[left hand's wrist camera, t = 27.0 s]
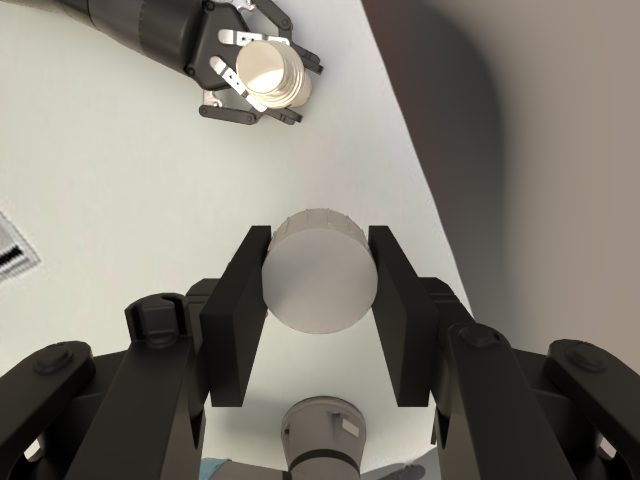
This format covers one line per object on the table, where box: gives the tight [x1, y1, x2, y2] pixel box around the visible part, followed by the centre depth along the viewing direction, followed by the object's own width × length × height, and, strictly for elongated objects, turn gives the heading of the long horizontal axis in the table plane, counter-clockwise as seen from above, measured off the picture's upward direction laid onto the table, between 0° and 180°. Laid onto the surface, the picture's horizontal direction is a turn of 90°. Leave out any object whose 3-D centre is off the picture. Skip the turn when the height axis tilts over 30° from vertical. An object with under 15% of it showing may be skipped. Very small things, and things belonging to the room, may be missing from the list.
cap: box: [262, 209, 378, 334], centre depth 13 cm, size 4×4×2 cm
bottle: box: [236, 40, 312, 109], centre depth 31 cm, size 5×5×24 cm
